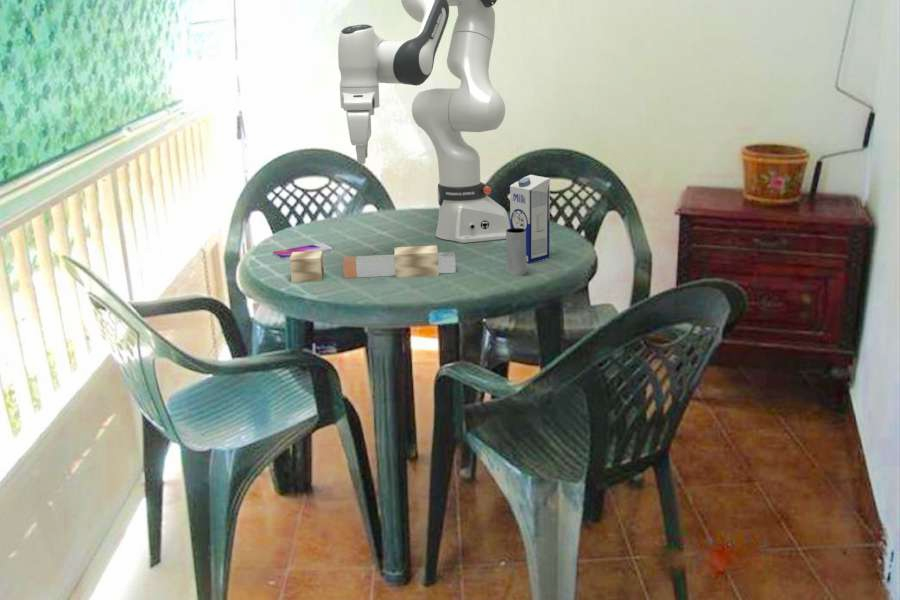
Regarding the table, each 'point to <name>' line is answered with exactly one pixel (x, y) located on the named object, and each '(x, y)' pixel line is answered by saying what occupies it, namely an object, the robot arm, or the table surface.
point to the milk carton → (532, 214)
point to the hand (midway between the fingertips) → (362, 160)
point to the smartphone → (303, 250)
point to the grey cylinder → (516, 251)
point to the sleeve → (416, 261)
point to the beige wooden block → (306, 266)
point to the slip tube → (388, 265)
